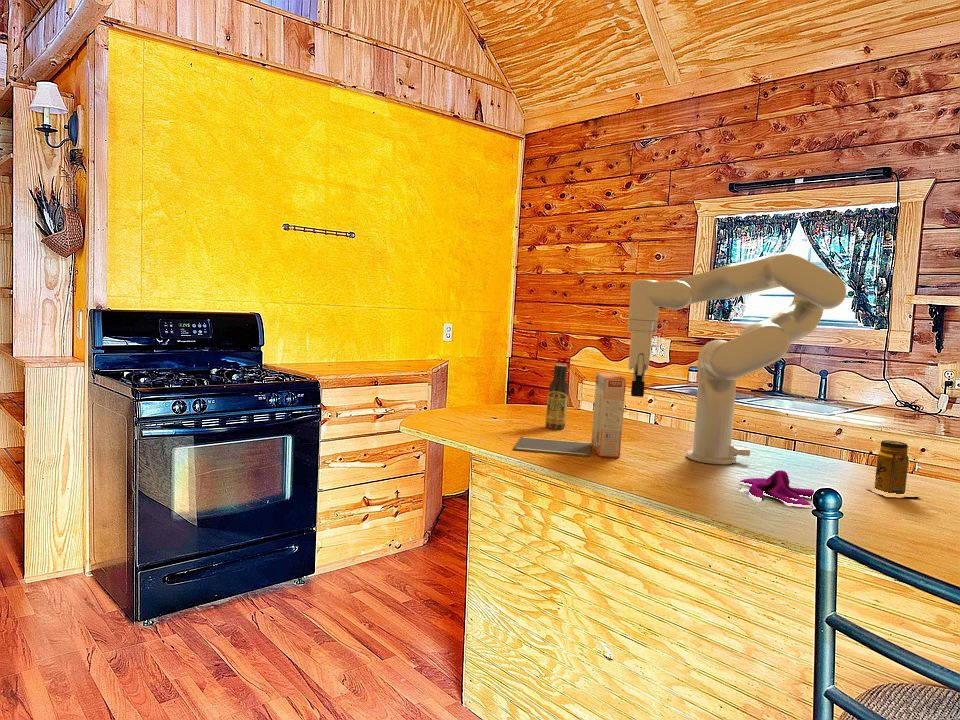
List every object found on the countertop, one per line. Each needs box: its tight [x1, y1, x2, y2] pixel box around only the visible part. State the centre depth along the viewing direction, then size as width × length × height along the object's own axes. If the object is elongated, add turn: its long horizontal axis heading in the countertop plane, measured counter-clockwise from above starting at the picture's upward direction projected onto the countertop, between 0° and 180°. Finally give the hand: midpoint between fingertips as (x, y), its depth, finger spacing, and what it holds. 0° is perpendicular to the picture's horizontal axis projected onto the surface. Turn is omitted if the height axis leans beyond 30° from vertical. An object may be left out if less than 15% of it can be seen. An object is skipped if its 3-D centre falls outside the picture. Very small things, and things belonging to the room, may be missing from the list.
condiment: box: [874, 439, 910, 494], centre depth 156 cm, size 7×8×12 cm
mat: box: [512, 436, 592, 458], centre depth 189 cm, size 20×16×1 cm
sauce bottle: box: [545, 364, 569, 430], centre depth 215 cm, size 7×6×20 cm
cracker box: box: [590, 371, 627, 458], centre depth 185 cm, size 14×6×21 cm, turn 179°
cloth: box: [739, 469, 815, 509], centre depth 151 cm, size 22×19×6 cm
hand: (637, 396), depth 183 cm, fingers closed
